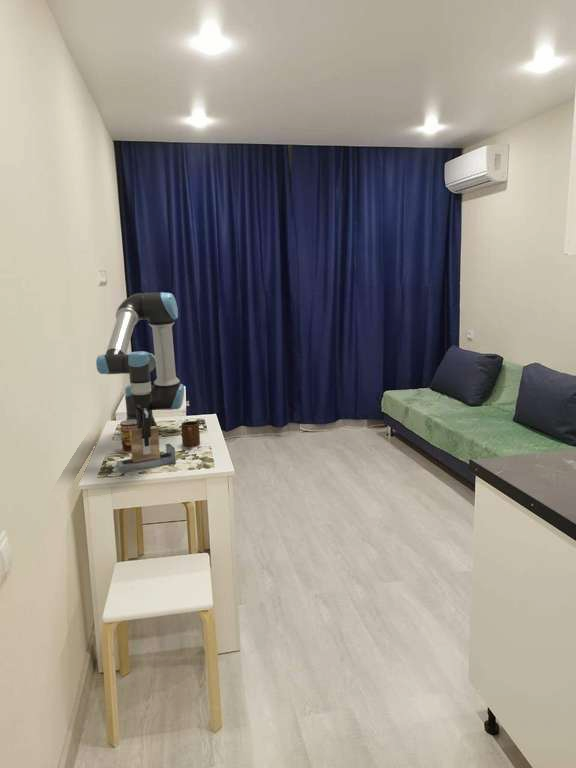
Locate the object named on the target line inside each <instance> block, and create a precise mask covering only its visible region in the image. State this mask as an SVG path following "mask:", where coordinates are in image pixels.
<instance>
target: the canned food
mask: <svg viewBox="0 0 576 768" xmlns="http://www.w3.org/2000/svg"><path fill="white" fill-rule="evenodd" d="M119 425H120V435H121V448H122V449H121V450H122V452H124V453H125V452H126V453H132V452H131V439H130V430H133V429H137V420H135V419H132V420H126V419H125V420H122V421H120V422H119Z"/></svg>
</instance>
